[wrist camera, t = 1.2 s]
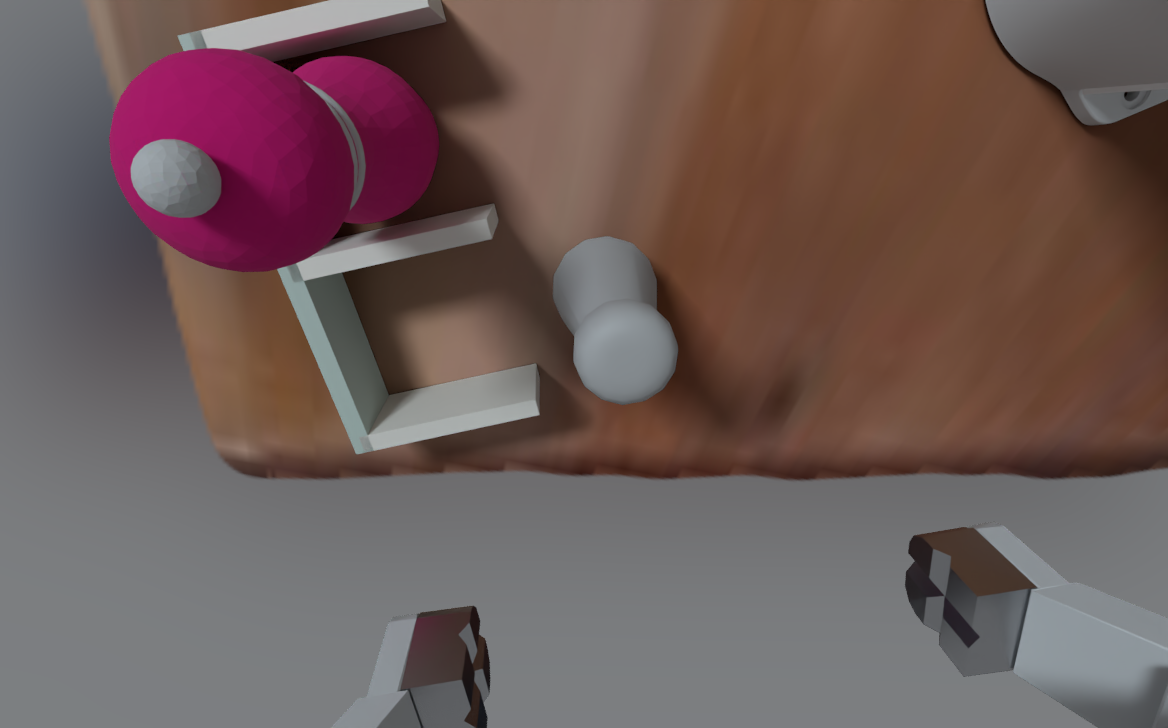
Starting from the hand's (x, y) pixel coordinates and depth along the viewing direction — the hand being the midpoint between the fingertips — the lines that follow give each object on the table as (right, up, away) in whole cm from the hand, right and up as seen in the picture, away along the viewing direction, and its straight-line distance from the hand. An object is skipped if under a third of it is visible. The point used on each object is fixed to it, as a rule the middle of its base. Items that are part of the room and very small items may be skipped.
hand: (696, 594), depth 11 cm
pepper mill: (-13, +16, +21) cm, 29 cm away
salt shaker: (-1, +10, +24) cm, 26 cm away
